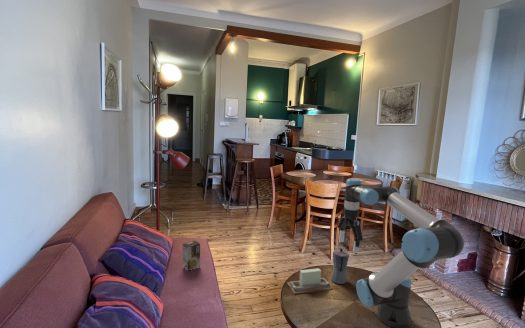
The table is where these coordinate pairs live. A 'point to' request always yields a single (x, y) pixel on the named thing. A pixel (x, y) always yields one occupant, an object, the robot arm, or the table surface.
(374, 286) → the robot arm
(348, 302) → the table surface
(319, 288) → the grey rectangular tray
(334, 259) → the moka pot
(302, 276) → the pale green block
